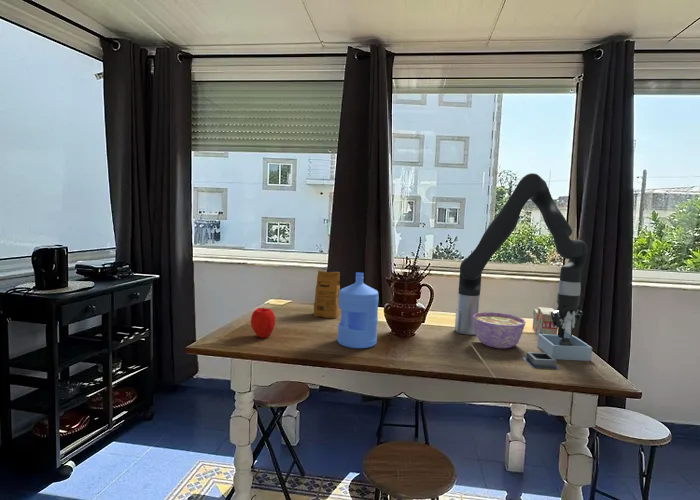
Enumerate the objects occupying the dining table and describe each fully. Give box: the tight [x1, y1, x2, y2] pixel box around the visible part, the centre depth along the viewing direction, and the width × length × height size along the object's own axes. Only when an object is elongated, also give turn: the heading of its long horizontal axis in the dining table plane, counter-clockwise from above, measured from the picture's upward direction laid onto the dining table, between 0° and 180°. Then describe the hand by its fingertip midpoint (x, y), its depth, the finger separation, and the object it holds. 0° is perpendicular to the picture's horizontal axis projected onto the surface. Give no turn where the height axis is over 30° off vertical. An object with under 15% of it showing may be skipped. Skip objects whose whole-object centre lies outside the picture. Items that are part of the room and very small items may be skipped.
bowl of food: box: [473, 311, 527, 349], centre depth 172 cm, size 20×20×12 cm
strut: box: [559, 313, 573, 346], centre depth 164 cm, size 4×4×14 cm
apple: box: [250, 307, 276, 339], centre depth 173 cm, size 10×10×12 cm
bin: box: [536, 334, 593, 362], centre depth 165 cm, size 14×14×6 cm
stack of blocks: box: [532, 306, 558, 337], centre depth 190 cm, size 21×6×12 cm, turn 166°
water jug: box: [337, 271, 379, 350], centre depth 170 cm, size 16×16×28 cm
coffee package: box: [313, 269, 341, 319], centre depth 208 cm, size 10×12×22 cm
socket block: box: [521, 351, 562, 370], centre depth 153 cm, size 10×10×4 cm
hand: (564, 336), depth 164 cm, fingers closed on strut, 3 cm apart
